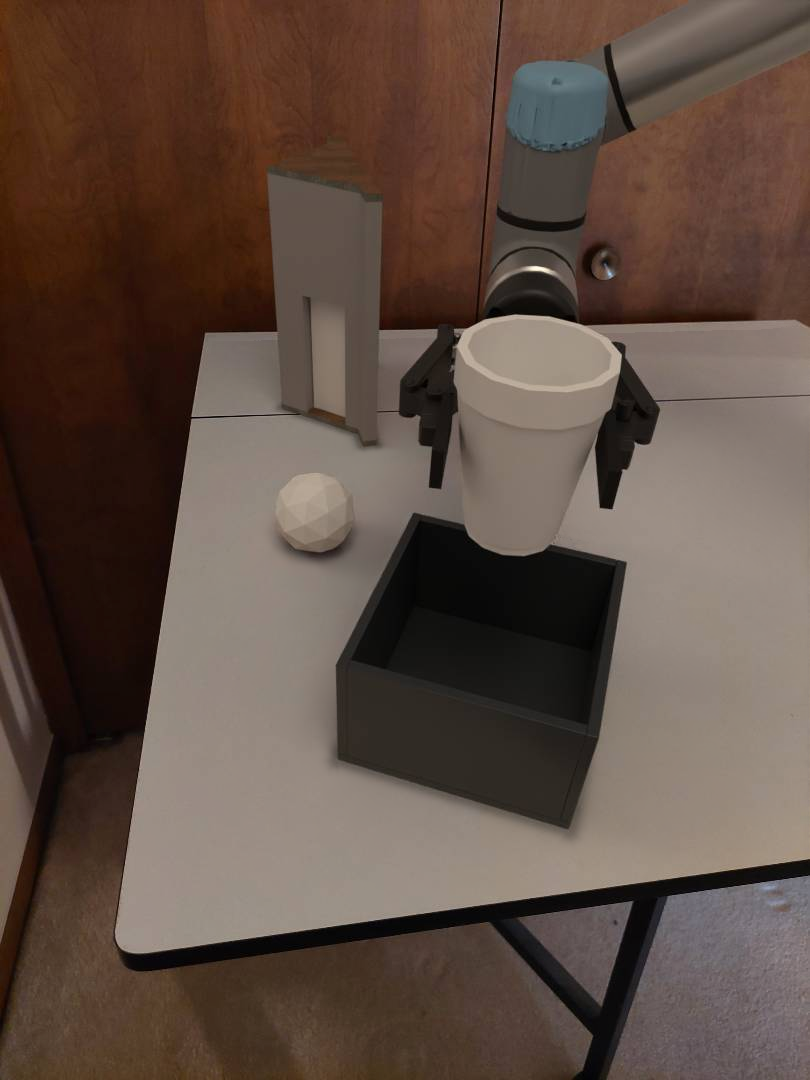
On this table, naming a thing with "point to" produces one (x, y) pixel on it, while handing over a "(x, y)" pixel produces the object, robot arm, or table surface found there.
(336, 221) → the cabinet
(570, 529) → the table surface
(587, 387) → the foam cup
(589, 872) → the table surface
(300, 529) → the geometric ball
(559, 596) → the waste bin
